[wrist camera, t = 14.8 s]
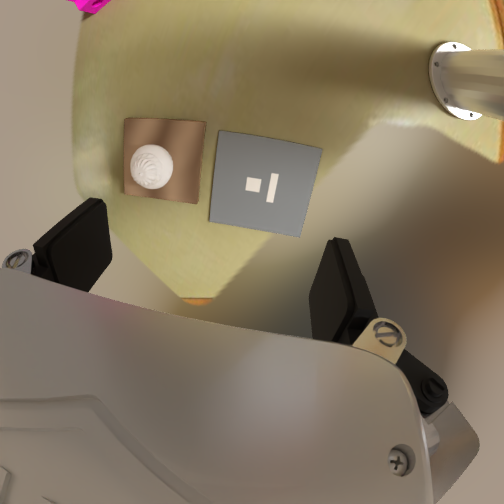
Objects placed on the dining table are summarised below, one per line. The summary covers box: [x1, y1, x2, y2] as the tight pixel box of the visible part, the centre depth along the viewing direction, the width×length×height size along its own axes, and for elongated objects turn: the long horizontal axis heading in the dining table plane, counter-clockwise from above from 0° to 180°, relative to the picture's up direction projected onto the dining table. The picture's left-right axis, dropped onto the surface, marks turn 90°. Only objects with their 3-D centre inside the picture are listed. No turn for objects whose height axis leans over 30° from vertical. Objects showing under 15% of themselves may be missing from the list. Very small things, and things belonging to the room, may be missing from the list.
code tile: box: [209, 131, 322, 237], centre depth 38 cm, size 14×14×1 cm
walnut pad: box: [124, 118, 206, 204], centre depth 37 cm, size 12×12×1 cm
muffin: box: [130, 145, 173, 189], centre depth 33 cm, size 6×6×7 cm
